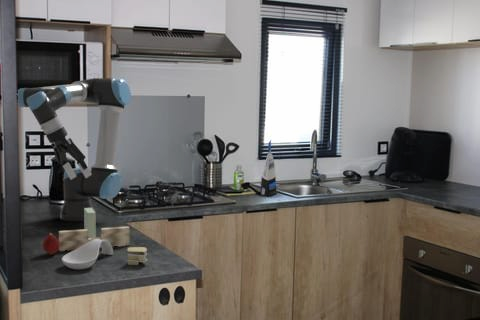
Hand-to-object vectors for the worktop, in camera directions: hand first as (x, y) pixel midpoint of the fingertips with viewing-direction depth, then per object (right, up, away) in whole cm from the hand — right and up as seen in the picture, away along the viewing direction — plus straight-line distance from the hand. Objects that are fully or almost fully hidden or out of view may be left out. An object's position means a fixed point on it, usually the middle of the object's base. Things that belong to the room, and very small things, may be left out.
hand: (81, 177), depth 250 cm
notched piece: (+3, -25, +1) cm, 25 cm away
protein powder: (+79, -13, +114) cm, 139 cm away
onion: (-5, -28, -22) cm, 35 cm away
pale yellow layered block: (+27, -30, -31) cm, 51 cm away
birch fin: (+8, -26, -10) cm, 29 cm away
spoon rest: (+11, -29, -30) cm, 43 cm away
